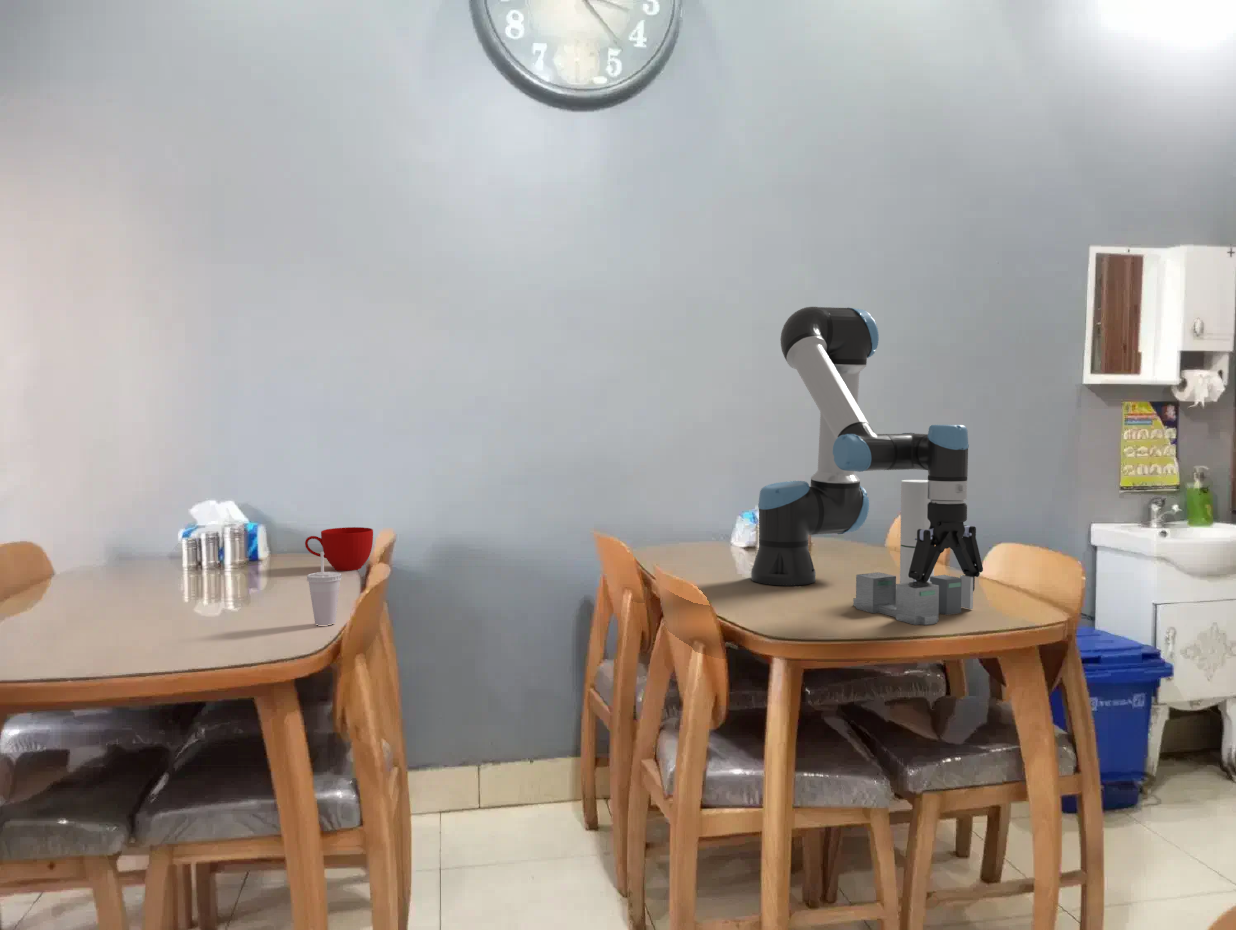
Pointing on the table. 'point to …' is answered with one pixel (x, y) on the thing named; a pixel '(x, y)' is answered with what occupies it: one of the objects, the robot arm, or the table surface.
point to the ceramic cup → (345, 547)
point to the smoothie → (324, 594)
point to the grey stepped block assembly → (897, 598)
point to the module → (948, 593)
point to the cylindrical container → (912, 522)
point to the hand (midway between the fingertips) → (945, 610)
